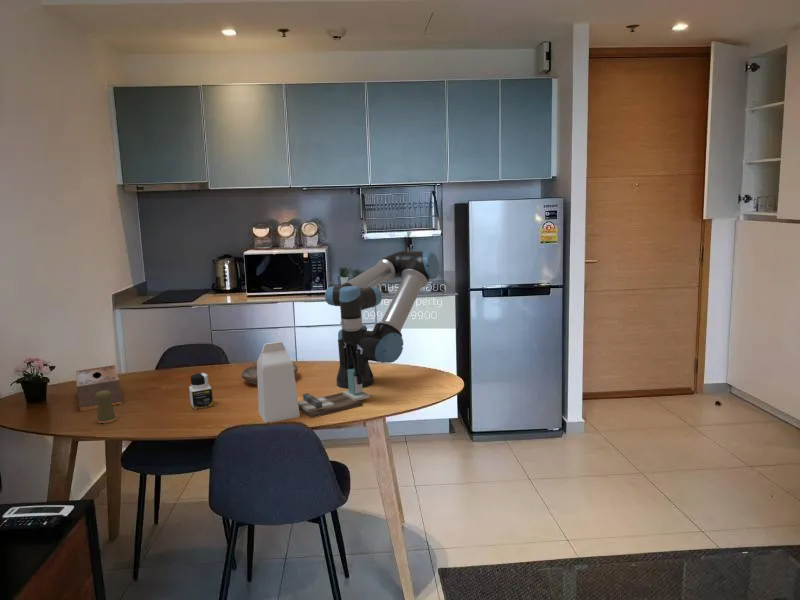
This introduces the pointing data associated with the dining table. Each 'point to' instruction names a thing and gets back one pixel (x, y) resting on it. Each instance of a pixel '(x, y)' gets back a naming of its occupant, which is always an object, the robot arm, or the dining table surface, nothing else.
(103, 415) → the green pepper shaker
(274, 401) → the milk
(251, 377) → the ceramic bowl
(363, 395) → the teal cube on panel
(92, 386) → the tissue box cover
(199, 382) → the medicine bottle
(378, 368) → the dining table surface
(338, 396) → the board
